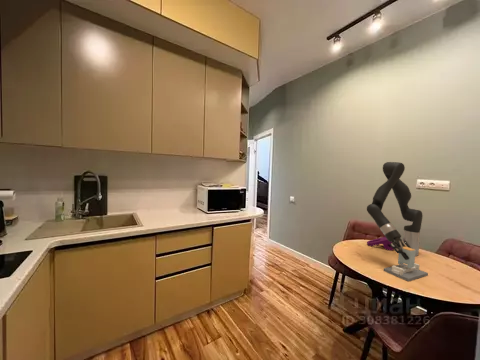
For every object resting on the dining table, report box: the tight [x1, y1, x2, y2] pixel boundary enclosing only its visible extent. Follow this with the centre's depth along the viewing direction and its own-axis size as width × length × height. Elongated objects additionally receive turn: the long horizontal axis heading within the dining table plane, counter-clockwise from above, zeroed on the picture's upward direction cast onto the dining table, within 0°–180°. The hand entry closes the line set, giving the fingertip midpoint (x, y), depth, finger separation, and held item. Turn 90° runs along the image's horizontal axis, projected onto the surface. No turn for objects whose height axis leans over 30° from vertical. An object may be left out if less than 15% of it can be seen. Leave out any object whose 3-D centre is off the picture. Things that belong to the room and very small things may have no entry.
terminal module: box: [397, 247, 416, 268], centre depth 126 cm, size 5×6×10 cm
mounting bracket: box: [366, 236, 395, 252], centre depth 171 cm, size 9×8×18 cm
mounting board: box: [383, 263, 429, 282], centre depth 126 cm, size 20×13×5 cm, turn 116°
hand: (410, 258), depth 124 cm, fingers closed on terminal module, 5 cm apart
